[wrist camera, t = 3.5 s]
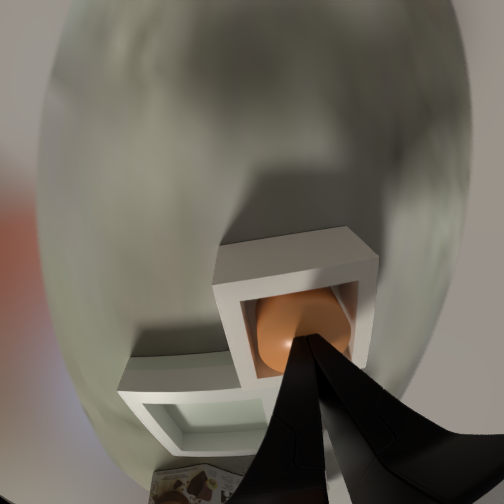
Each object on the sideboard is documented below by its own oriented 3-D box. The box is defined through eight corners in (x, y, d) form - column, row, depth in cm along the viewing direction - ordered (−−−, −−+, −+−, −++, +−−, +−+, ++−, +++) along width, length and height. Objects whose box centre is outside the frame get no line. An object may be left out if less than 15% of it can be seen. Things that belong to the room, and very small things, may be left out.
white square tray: (285, 420, 16) (290, 450, 14) (177, 428, 16) (173, 455, 14) (274, 344, 13) (281, 382, 11) (129, 357, 13) (116, 390, 11)
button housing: (344, 325, 13) (365, 367, 10) (241, 343, 13) (242, 391, 10) (346, 226, 11) (379, 256, 8) (218, 245, 11) (211, 285, 8)
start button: (334, 331, 11) (347, 363, 9) (260, 344, 11) (264, 380, 9) (334, 266, 10) (353, 296, 8) (248, 281, 10) (250, 314, 8)
